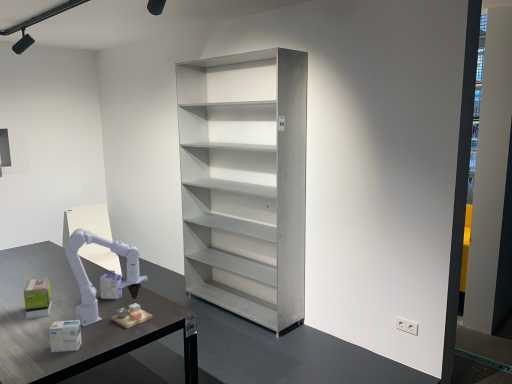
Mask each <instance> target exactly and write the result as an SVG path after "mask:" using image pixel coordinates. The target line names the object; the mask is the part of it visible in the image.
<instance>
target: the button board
mask: <svg viewBox="0 0 512 384" xmlns="http://www.w3.org/2000/svg"><path fill="white" fill-rule="evenodd" d="M127 310H128V315H126V316H124V317H121V318H120V317H119V316H117V315H116V314H115V315H113V316H111V320H112V321H113V322H115V323H117V324H119V325H120V326H122V327H124V328H125V329H129V328H131V327H134V326H137V325H139V324H141V323H143V322H146V321H149V320H151V319H153V314H151V313H149V312H147V311H145V310H144V309H141V310H139V312H141V314H142V318H140V319H137V320H132V319H131V318H130V317H129V313H131V311H129V309H127Z"/></svg>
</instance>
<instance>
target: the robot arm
mask: <svg viewBox="0 0 512 384" xmlns="http://www.w3.org/2000/svg"><path fill="white" fill-rule="evenodd" d="M90 244H95V245H99V246H102V247H105V248H107V249H109V250H110V252H111V253H114V254H116V255H119V256H121V257H125V258H126V277H127V278H126V280H125V281H121V282H122V283H120V284H119V288H121V289H122V290H123V289H124V288H127V289H128V291H129V293H130V294H131V295H130V296H131V298H132V299H133V300H135V299H137V298H138V294H139V291H140V288H141V287H142V284H141V282H144V281H148V276H147V275H142V276H140V262H139V260H140V259H139V257H140V253H139V249H138V247H137V246H135V245H131V244H127V243H124V242H122V240H114V241H112V240H109V239H107V238H104V237H102V236H100V235H98V234H96V233H93V232H91V231H89V230H85V229H83V228H77V229H75V230H73V232H72V233H71V234H70V236H69V239H68V242H67V245H66V248H65V256H66V258H67V260H68V263H69V265H70V268H71V270H72V273H73V275H74V278H75V280H76V282H77V284H78V285H77V286H78V287H79V291H80V295H81V298H80V300H81V301H80V302H81V303H80V304H79V305H77V306H76V307H75V320H80V326H82V327H86V326H89V325H91V324H94V323H97V322H99V321H102V320H103V318H102V317H100V316H99V307H98V306H99V303H98V299H97V298H96V296H97V292H98V291H97V288H96V287H95V286H94V285H93V283H92V282H91V281H90V280H89V277H88V275H87V272H86V270H85V267H84V264H83V262H82V260H81V258H80V255H79V250H80V248H82V247H83V246H84V245H90Z"/></svg>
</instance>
